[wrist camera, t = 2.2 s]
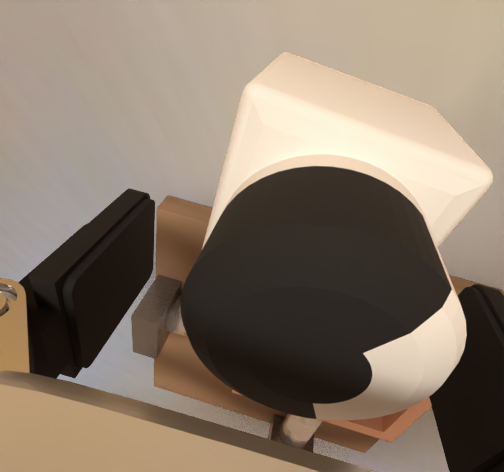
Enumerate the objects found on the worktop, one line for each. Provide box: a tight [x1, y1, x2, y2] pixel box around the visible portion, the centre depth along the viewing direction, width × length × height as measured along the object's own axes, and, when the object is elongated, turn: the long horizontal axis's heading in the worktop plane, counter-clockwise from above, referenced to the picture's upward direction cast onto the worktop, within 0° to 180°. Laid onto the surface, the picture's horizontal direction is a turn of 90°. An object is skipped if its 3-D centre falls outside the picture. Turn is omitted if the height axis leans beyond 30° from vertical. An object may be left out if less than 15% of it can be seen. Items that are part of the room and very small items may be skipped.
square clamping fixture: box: [131, 196, 504, 453], centre depth 23 cm, size 20×20×5 cm
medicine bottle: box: [180, 52, 493, 420], centre depth 11 cm, size 7×7×12 cm
